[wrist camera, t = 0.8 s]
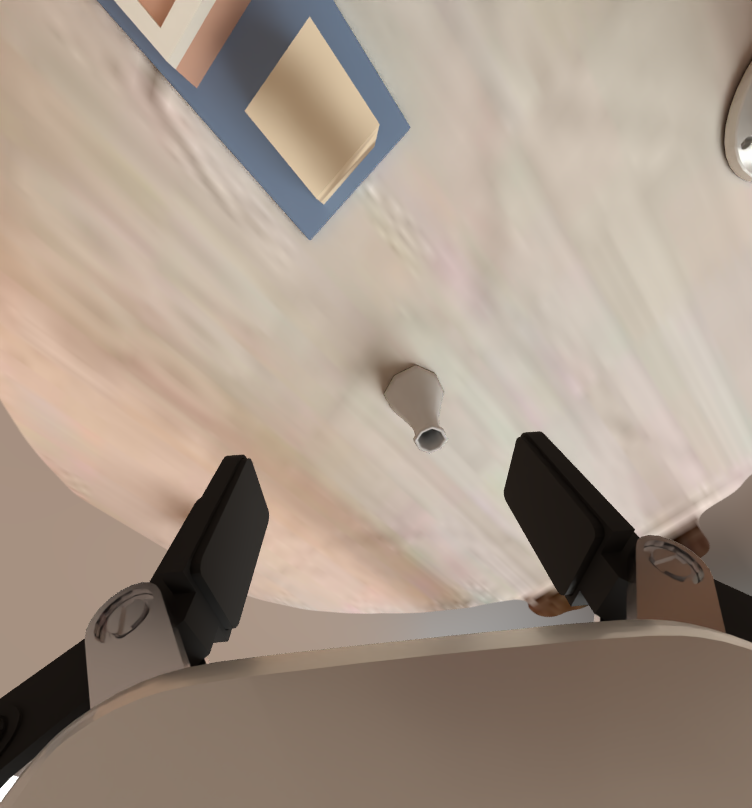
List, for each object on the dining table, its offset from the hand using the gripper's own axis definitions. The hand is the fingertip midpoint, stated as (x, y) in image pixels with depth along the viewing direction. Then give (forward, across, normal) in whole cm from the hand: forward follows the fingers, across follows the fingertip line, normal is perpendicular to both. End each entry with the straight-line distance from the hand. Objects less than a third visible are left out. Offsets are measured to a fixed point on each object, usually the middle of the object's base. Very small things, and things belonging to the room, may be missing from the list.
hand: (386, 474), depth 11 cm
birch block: (+24, +2, -14) cm, 28 cm away
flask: (+25, -6, +10) cm, 28 cm away
